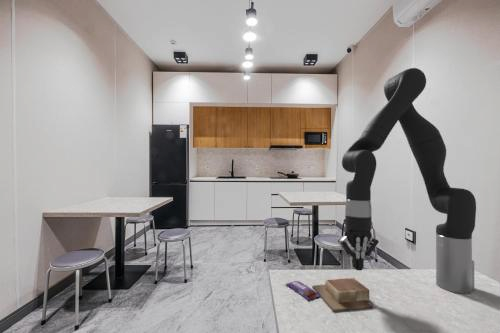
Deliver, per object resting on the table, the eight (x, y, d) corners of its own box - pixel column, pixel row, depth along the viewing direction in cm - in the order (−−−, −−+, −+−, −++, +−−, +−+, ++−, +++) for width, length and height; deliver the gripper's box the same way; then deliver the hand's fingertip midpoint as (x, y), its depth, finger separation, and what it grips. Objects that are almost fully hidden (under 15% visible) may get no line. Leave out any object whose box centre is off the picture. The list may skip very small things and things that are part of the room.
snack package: (284, 281, 83) (296, 278, 85) (284, 286, 83) (296, 283, 85) (308, 296, 73) (320, 292, 75) (308, 303, 73) (320, 299, 75)
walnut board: (345, 284, 83) (345, 283, 83) (372, 308, 69) (372, 305, 69) (312, 287, 81) (312, 285, 81) (333, 311, 67) (333, 309, 67)
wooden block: (353, 277, 80) (325, 279, 79) (369, 289, 72) (337, 292, 71) (353, 287, 80) (325, 289, 79) (369, 299, 72) (338, 302, 71)
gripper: (369, 211, 81) (369, 263, 81) (332, 212, 79) (332, 265, 79) (385, 215, 74) (385, 273, 74) (345, 216, 72) (345, 276, 72)
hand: (358, 269), depth 76 cm, fingers closed
